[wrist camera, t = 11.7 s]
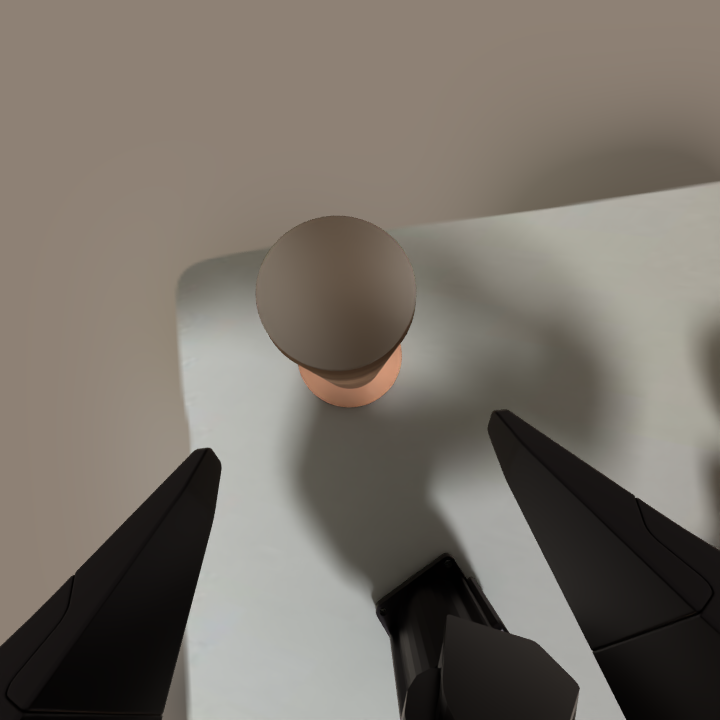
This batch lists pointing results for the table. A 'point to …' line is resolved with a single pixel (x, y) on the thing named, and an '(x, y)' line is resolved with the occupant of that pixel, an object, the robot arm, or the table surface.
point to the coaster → (356, 395)
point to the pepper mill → (337, 298)
